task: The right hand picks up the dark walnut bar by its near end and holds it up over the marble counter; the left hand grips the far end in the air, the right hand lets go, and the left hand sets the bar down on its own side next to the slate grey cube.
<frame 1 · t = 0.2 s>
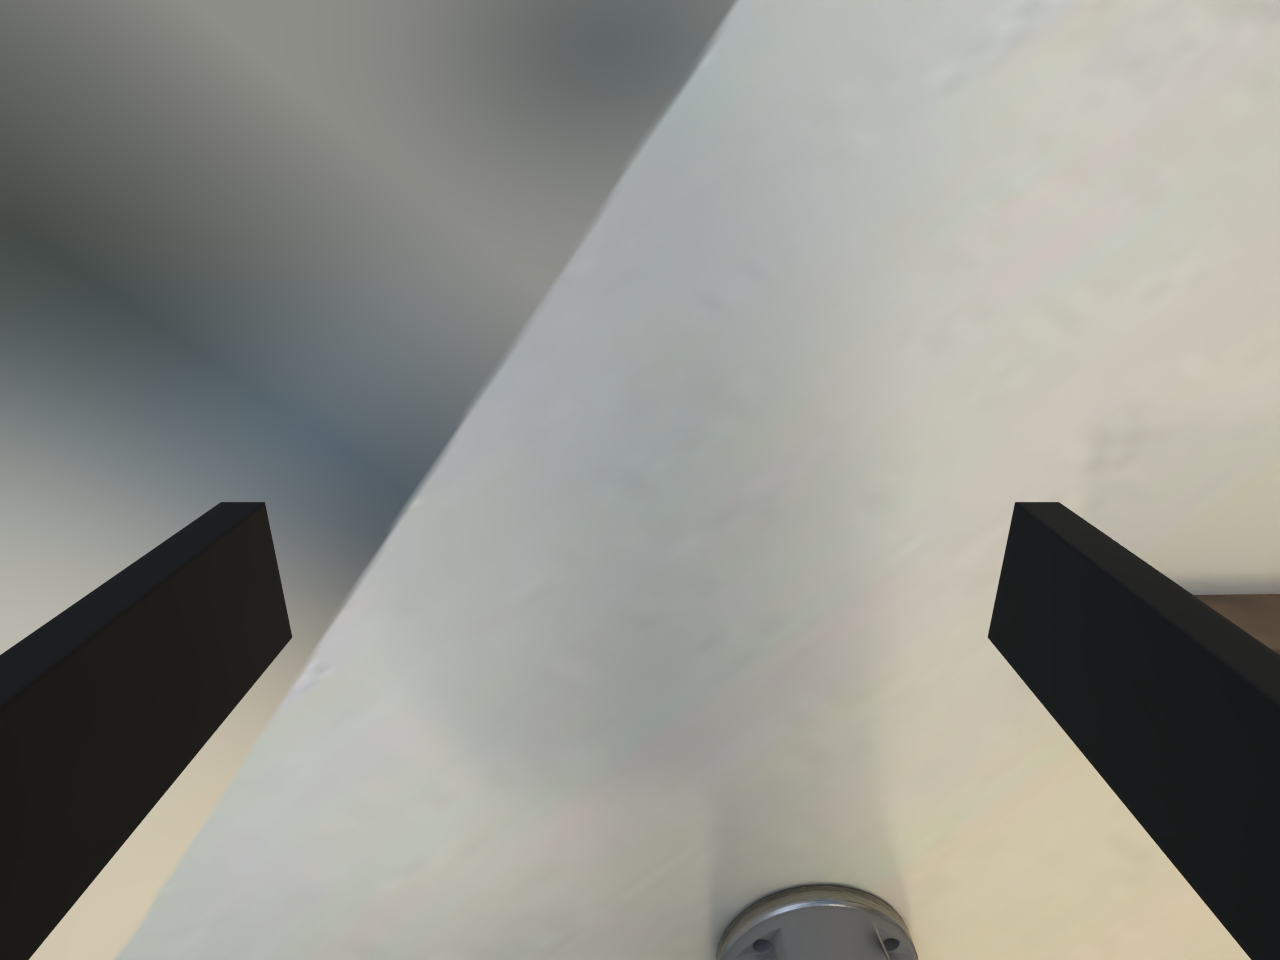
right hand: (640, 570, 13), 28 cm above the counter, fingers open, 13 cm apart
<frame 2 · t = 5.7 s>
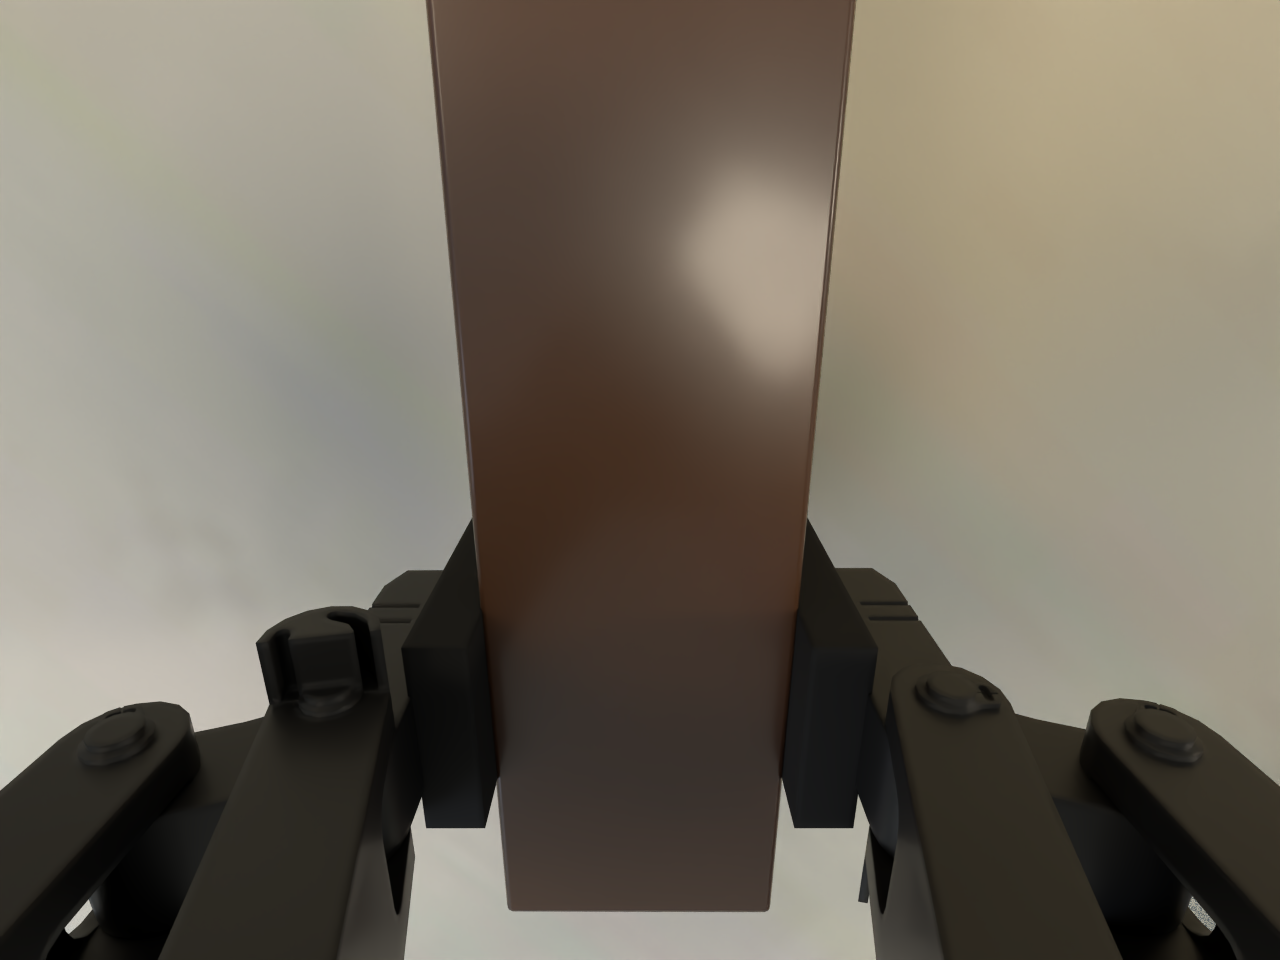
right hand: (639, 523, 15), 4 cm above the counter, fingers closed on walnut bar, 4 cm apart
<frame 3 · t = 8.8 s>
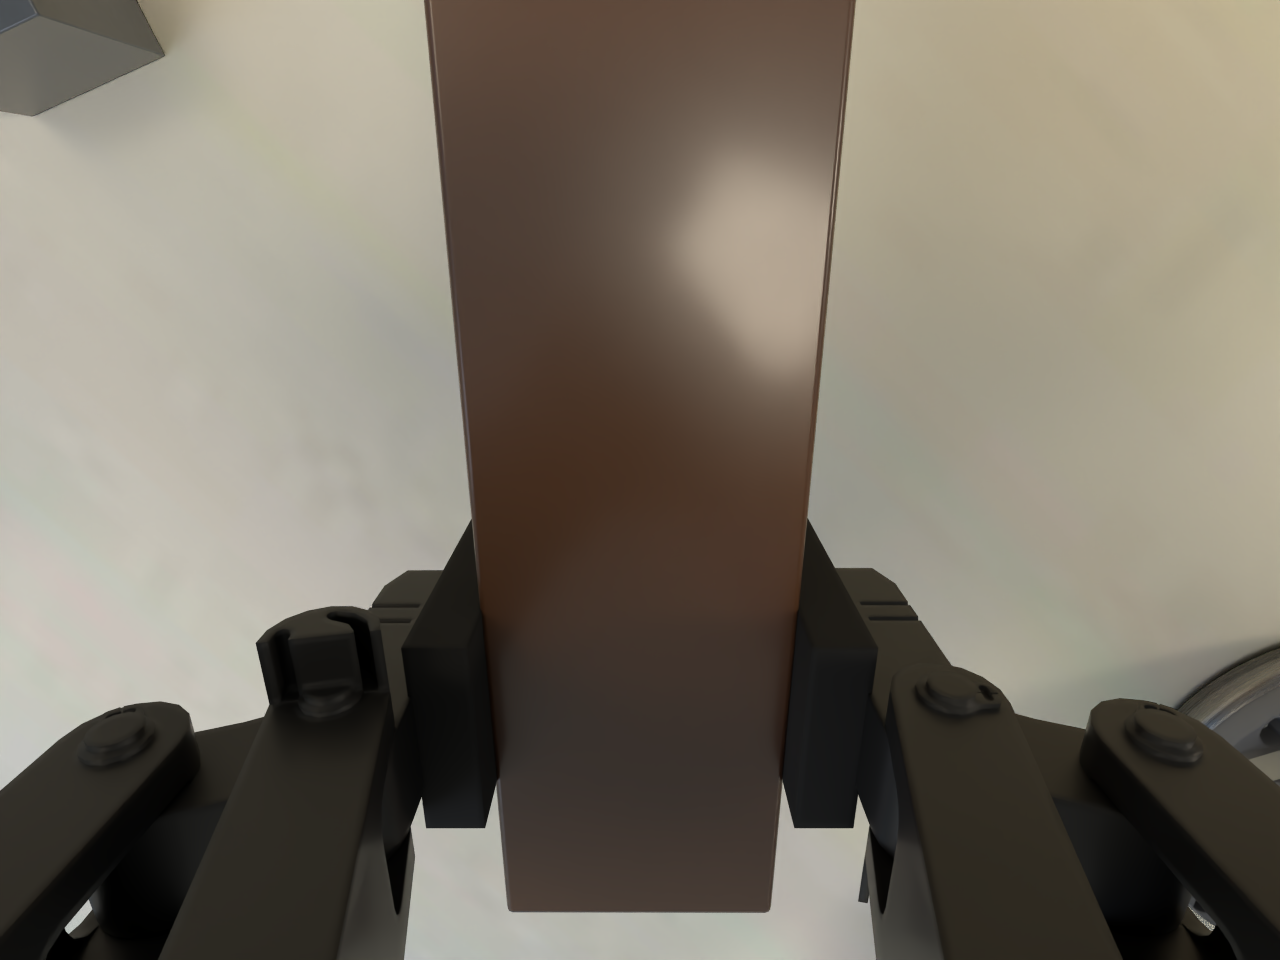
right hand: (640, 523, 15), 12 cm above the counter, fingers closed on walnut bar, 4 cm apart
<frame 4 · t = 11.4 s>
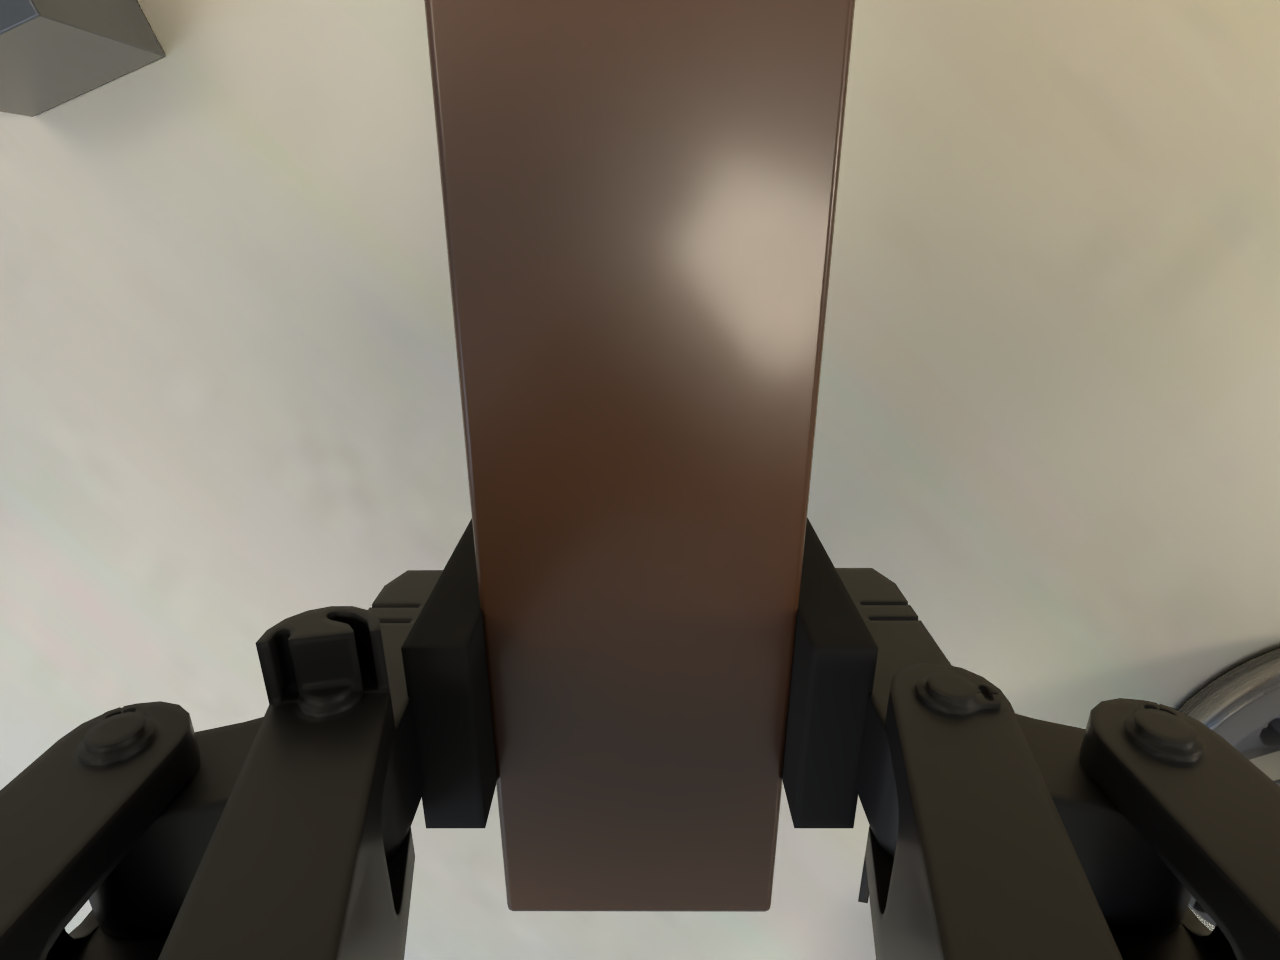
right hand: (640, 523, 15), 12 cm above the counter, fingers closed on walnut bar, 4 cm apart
slate cube: (49, 0, 22), on the counter
when the right hand's fingers open (12 cm above the counter, at t = 12.1 s): walnut bar stays where it is, held by the left hand.
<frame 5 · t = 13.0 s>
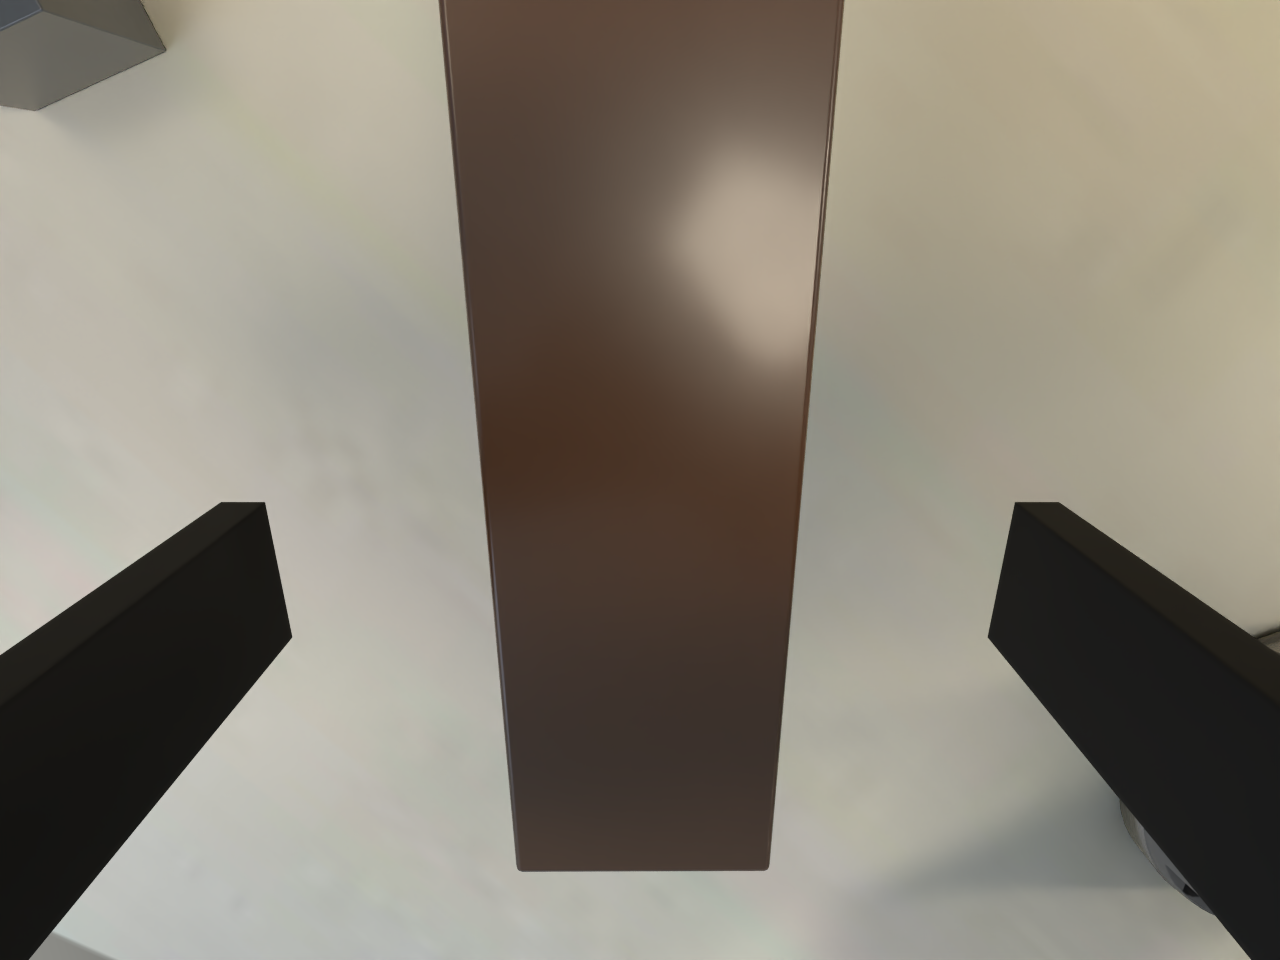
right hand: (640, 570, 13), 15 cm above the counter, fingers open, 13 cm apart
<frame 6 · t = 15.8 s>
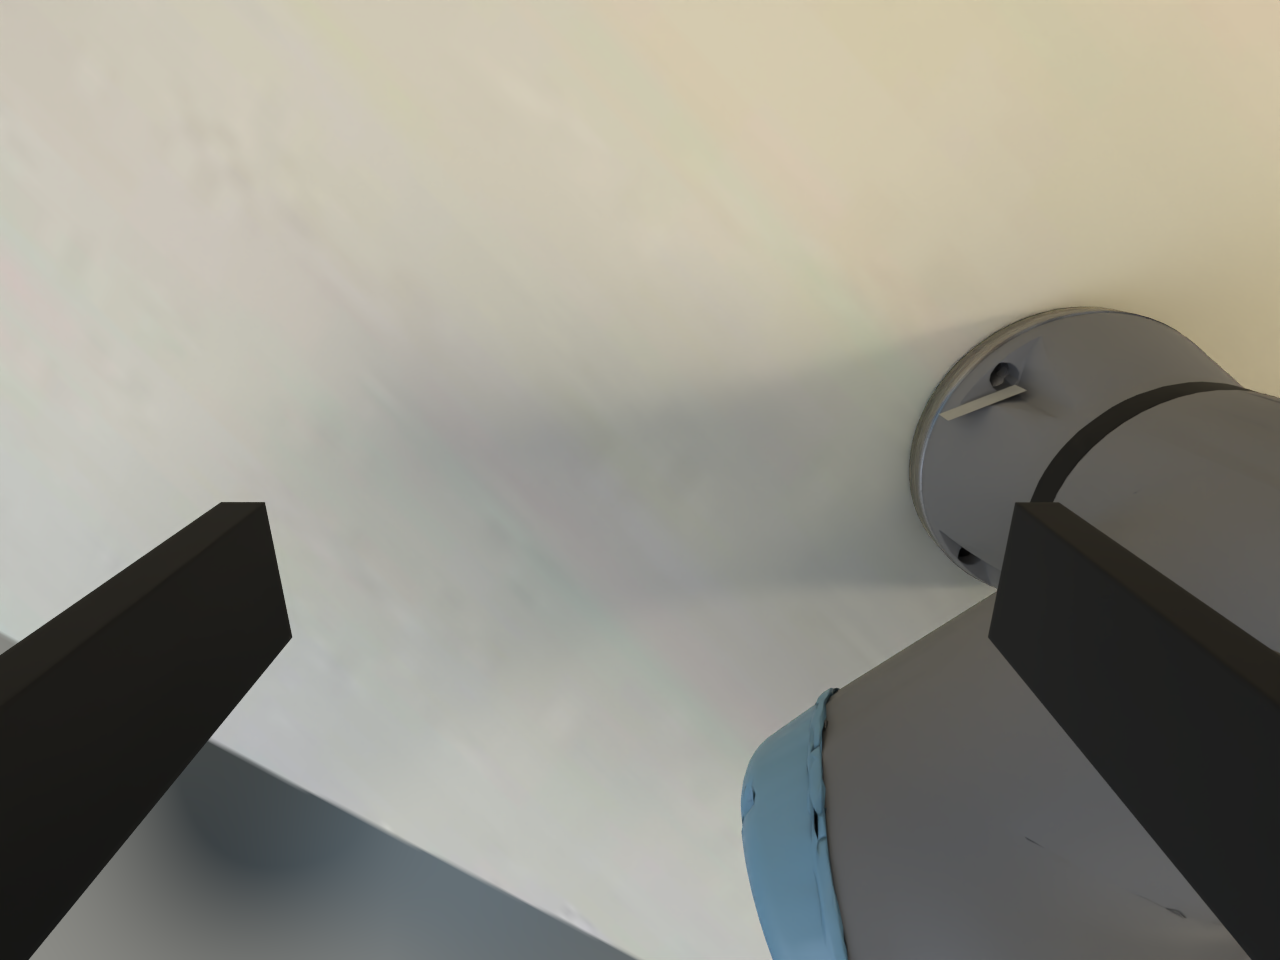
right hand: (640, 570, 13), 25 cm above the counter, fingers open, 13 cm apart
when the left hand's fingers open (3 cm above the counter, at t = 20.2 s): walnut bar stays where it is, on the counter.
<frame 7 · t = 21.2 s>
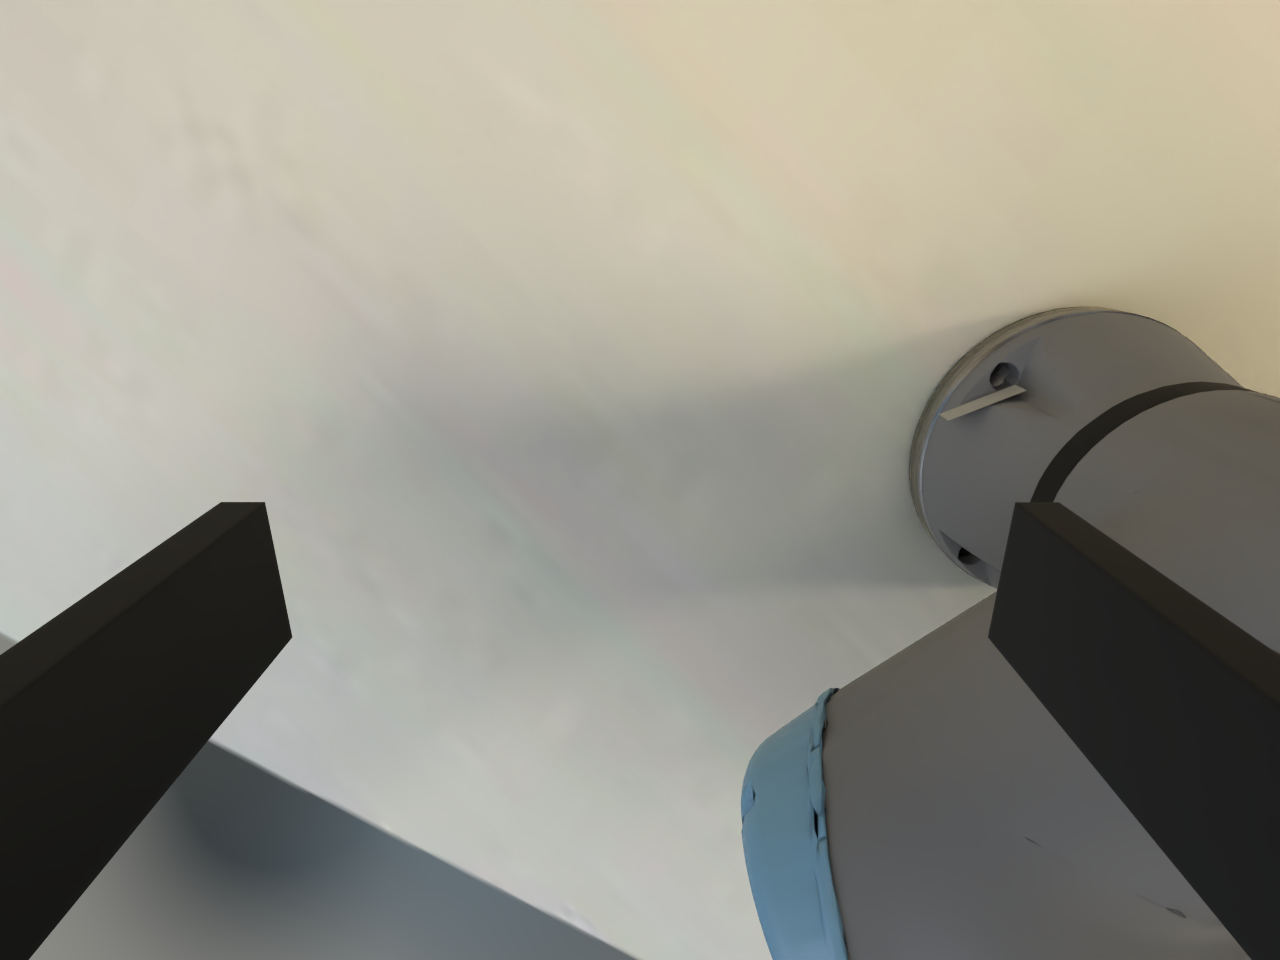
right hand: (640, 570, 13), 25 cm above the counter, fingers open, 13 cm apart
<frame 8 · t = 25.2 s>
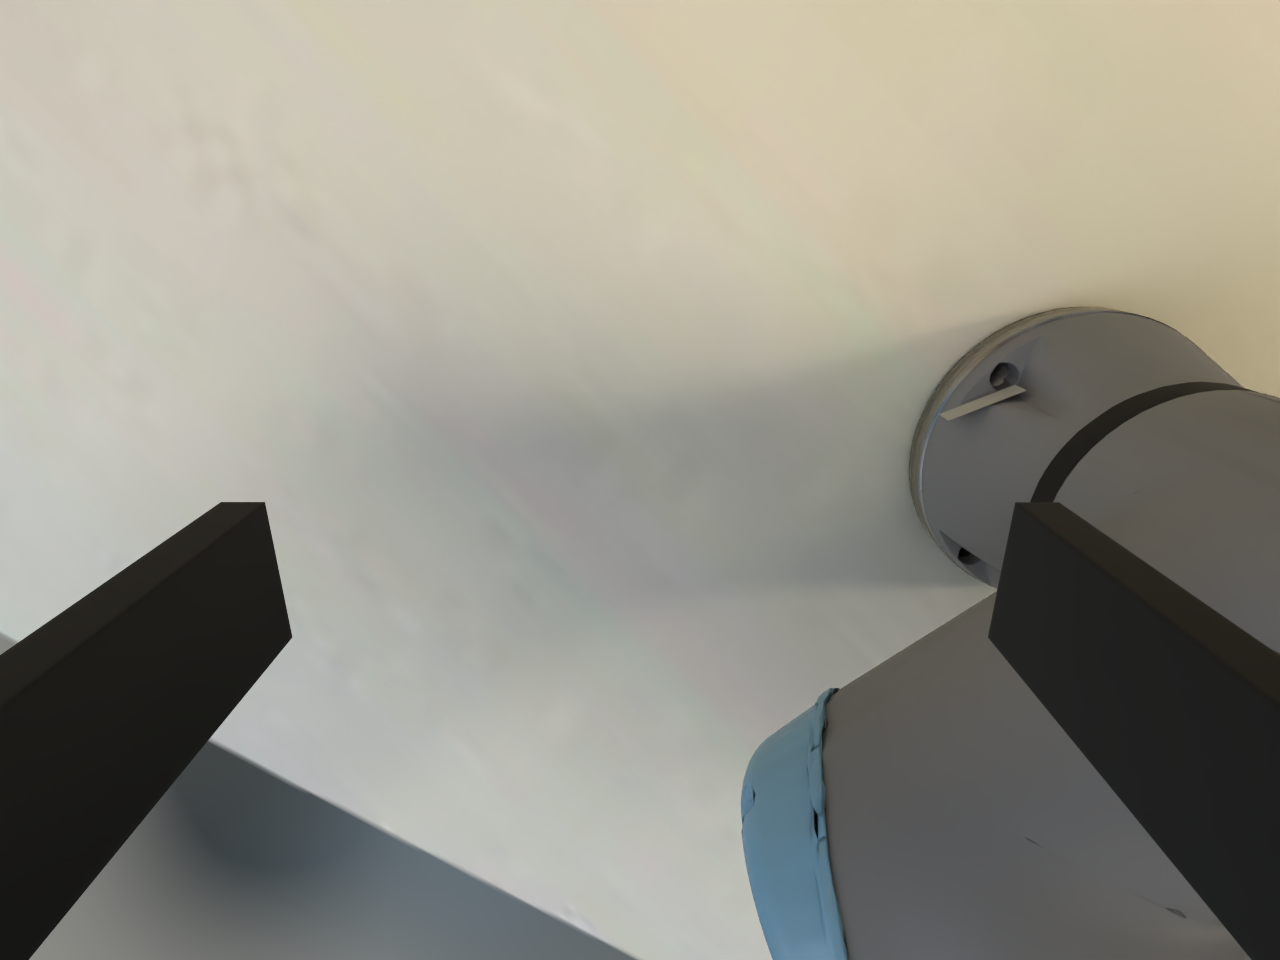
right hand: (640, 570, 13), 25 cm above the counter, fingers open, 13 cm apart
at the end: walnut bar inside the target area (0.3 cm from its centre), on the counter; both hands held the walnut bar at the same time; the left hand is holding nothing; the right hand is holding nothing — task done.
